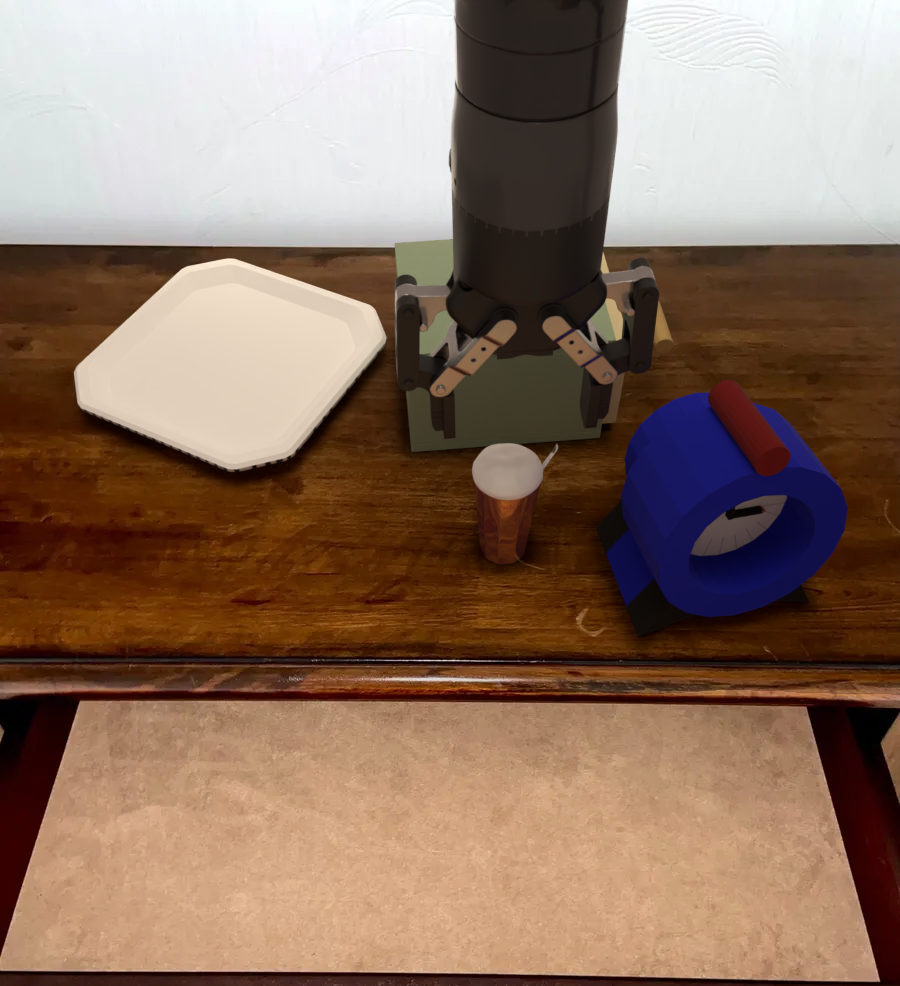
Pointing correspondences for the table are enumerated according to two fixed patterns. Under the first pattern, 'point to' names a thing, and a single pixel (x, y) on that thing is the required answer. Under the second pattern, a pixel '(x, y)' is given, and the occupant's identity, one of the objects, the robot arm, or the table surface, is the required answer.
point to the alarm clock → (718, 511)
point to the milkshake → (506, 498)
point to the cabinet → (495, 378)
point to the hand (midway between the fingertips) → (518, 423)
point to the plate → (231, 364)
